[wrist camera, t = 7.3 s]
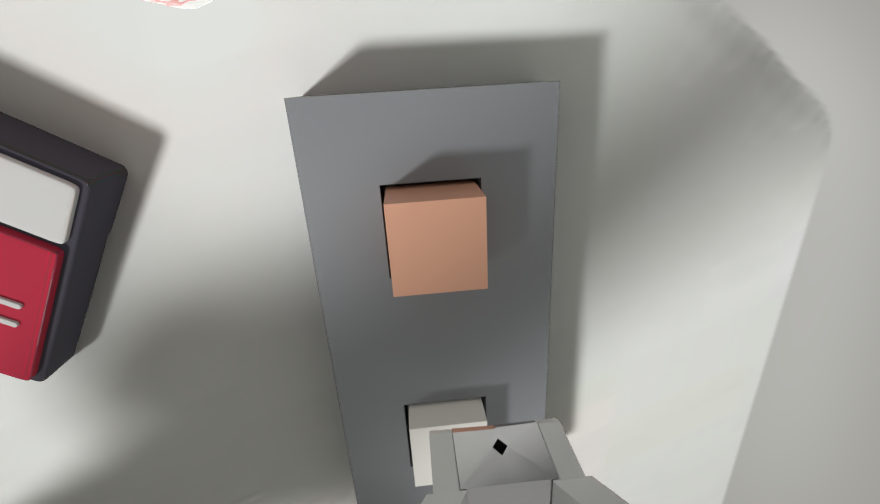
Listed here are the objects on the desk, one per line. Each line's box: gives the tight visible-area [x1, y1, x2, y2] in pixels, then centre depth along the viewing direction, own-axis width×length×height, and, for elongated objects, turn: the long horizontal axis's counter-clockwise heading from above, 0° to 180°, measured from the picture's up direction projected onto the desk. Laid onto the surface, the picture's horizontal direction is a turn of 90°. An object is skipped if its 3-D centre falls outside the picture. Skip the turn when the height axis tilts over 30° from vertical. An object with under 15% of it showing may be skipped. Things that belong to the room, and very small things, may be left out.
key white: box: [409, 397, 487, 487], centre depth 30 cm, size 5×5×4 cm
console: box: [284, 81, 560, 504], centre depth 29 cm, size 30×14×4 cm, turn 3°
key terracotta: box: [383, 180, 488, 297], centre depth 23 cm, size 5×5×4 cm
